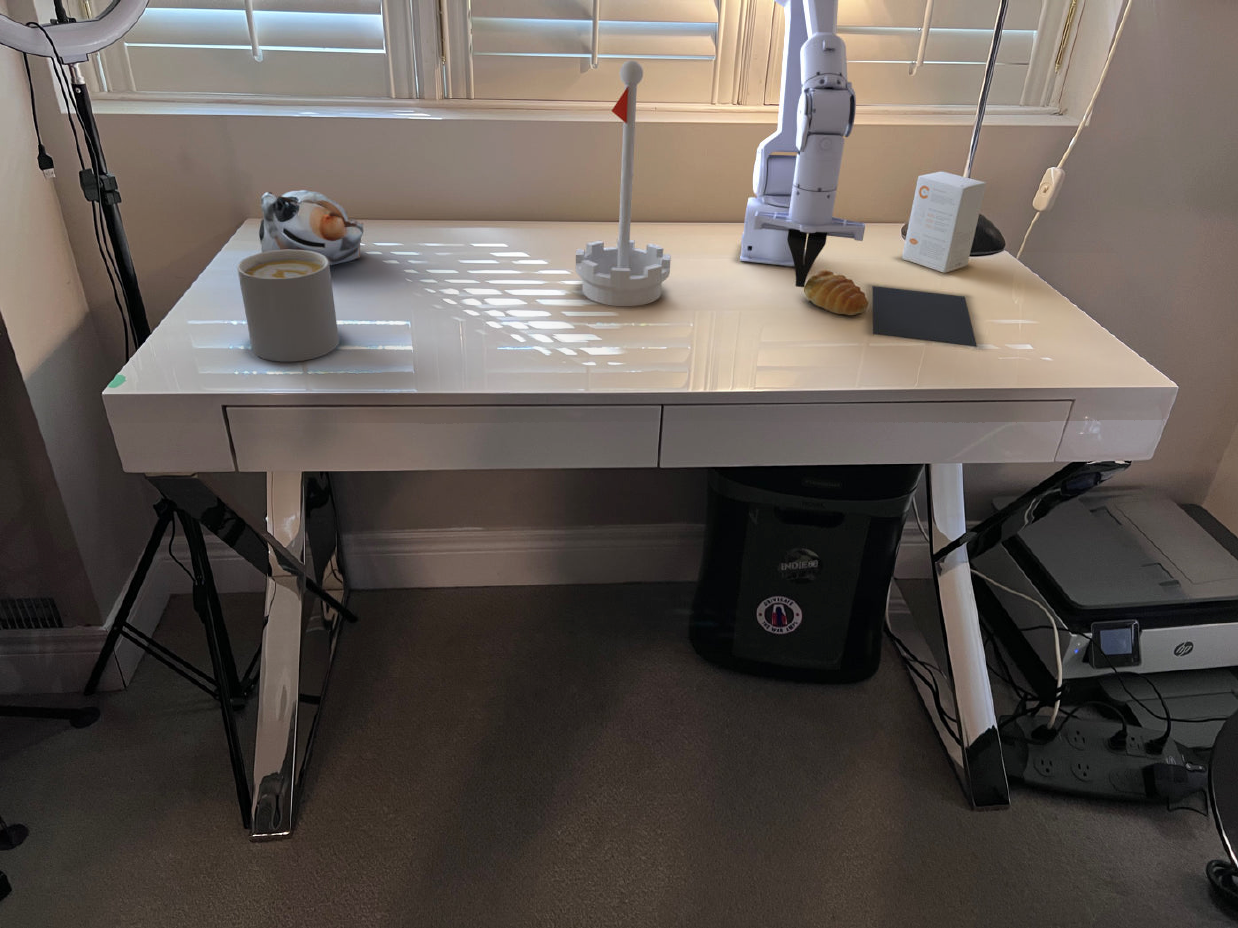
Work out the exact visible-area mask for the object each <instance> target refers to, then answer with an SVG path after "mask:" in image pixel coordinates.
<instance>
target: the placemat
mask: <svg viewBox="0 0 1238 928" xmlns="http://www.w3.org/2000/svg"><path fill="white" fill-rule="evenodd" d="M872 335H877V336H878V335H879V336H887V337H895V338H901V339H903V338H904V339H912V340H919V341H927V342H935V343H944V344H951V345H952V344H953V345H959V346H967V347H978V345H977V342H976V341H977V340H976V337H975V333H974V329H973V325H972V321H971V317H970V312H969V307H968V304H967V300H966V296H965V295H953V294H945V293H938V292H929V291H920V290H913V289H912V290H911V289H904V288H903V289H902V288H895V287H885V286H877V285H876V286H875V285H872Z"/></svg>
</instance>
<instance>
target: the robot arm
mask: <svg viewBox="0 0 1238 928" xmlns="http://www.w3.org/2000/svg"><path fill="white" fill-rule="evenodd" d="M773 1H774V2H775V3H776V4H778V5H780V6H781V7H783V9H784V10H783V11H784V20H785V31H784V43H783V56H782V68H781V81H780V93H779V106H778V120H777V130H776V131H775V132H774V133H772V134H771V135H769V136H768V137H767V138H765V139H764V140H762V141H761V142H760V143H759V146H758V147H757V149H756V156H755V163H754V166H753V174H752V175H753V176H752V190H753V193H754V195H755V197H752V196H751V197H748V200H747V204H746V208H745V209H746V210H745V215H744V216H745V217H744V225H743V232H742V234H741V239H740V240H741V241H740V245H741V251H740V257H739V260H740V261H742V262H749V263H757V264H758V263H759V264H766V265H767V264H768V265H776V266H785V267H793V268H794V274H795V287H798V288H804V286H805V284H806V282H807V278H808V275H809V273H810V271H811V269H812V266H813V265H814V263H815V262H816V259H817V258H818V256H819V255H820V253H821V252H822V250H823V249H824V247H825V245H826V244H827V238H828V237H835V238H844V239H845V238H846V239H853V240H854V241H858V242H863V241H864V236H865V231H866V230H865V229H866V222H860V221H854V220H850V219H844V218H840V217H835V216H833V213H834V209H835V204H836V203H835V202H836V196H837V189H838V184H839V178H840V171H841V166H842V159H843V153H844V148H845V147H844V146H845V141H846V140H845V138H848V137H850V135H851V134H852V131H853V128H854V124H855V120H856V119H855V118H856V111H857V98H856V91H855V89H854V88H853V83H852V82H851V81H848V64H847V46H846V42H845V41H844V40H843V38H841V36H838V35H837V31H838V29H837V28H838V12H839V11H838V10H839V9H838V8H839V0H773ZM844 137H845V138H844ZM774 152H778V153H796V155H790V154H772V153H774Z"/></svg>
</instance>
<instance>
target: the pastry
mask: <svg viewBox="0 0 1238 928" xmlns="http://www.w3.org/2000/svg"><path fill="white" fill-rule="evenodd" d="M803 293H804V296H805V297H806V299H807V302H810V301H811V302H812V303H813V305H815V306H817V307H819V308H823V309H825V311H826V312H827V311H829V312H830V313H834V314H836V315H847V316H854V315H857V314H862V313H864V312H865V311H866V309H867V308H868V306H869V300H868V299H867V297H866V293H864V292H863V291H862V290H861V287H860V286H858V285H856V283H855V282H854V281H853V279H852V278H851V279H850V278H847V277H846V276H845V275H843V274H835V273H834V272H833V271H831V270H828V269H824V270H819V271H817V272H816V273H815V274H813V275H811V276H810V277H809V278H808V280H806V282H805V285H804V287H803Z"/></svg>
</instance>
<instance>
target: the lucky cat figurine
mask: <svg viewBox="0 0 1238 928" xmlns="http://www.w3.org/2000/svg"><path fill="white" fill-rule="evenodd" d="M260 210H261V211H262V216H263V218H262V219H261V221H260V225H259V231H258V235H259V236H258V237H259V242H260V246H261V253H263V252H268V251H275V250H306V251H313V252H316V253H320V254H322V255H324V256H325V257H326V258H327V259H328V261H329V266H334V265H337V264H342V263H346V262H349V261H354V260H355V261H356V260H359V259H360V258H361V242H362V237H363V235H364V223H360V222H359V221H358V220H357V219H349V217H348V213H347V211H346V210H345V208H344V207H343V206H342V205H341V204H339V203H338V202H337V201H335V200H333V199H329V198H328V196H326V195H324V194H322V193H320V192H318V191H309V190H306V189H303V190H302V189H301V190H292V191H290V190H289V191H287V192H285V193H283V194H282V195H279V196H276V195H274V194H273V192H272V191H267V192H265V193H264V194H263V195H261V196H260Z"/></svg>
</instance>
